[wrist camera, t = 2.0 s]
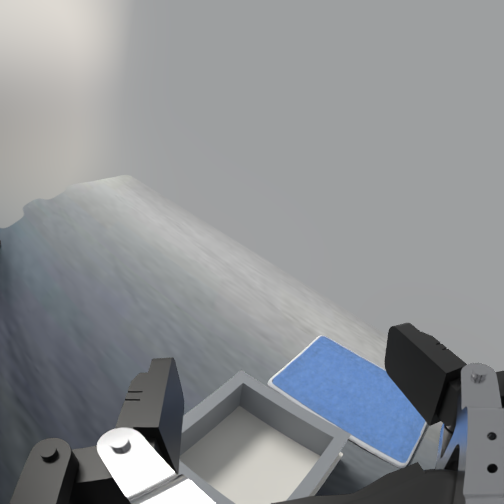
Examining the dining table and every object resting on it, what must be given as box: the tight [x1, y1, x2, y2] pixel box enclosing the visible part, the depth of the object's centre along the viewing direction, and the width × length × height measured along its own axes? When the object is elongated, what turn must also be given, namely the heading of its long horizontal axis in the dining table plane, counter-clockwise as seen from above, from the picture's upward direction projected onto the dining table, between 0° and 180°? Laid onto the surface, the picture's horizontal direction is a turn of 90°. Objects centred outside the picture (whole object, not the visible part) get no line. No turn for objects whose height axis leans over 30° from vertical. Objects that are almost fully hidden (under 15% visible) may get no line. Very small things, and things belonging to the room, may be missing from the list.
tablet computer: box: [268, 335, 427, 468], centre depth 33 cm, size 19×13×1 cm, turn 48°
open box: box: [178, 370, 351, 504], centre depth 21 cm, size 17×14×5 cm
